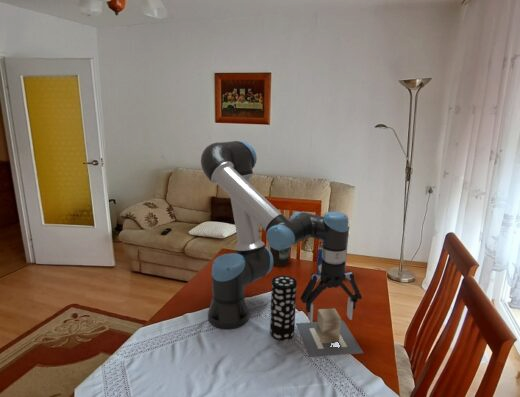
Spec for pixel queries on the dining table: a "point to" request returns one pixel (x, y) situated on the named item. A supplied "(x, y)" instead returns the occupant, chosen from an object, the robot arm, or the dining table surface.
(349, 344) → the board
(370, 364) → the dining table surface
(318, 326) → the birch block
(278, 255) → the olive oil
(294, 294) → the white-spotted black cylinder
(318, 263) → the juice carton
